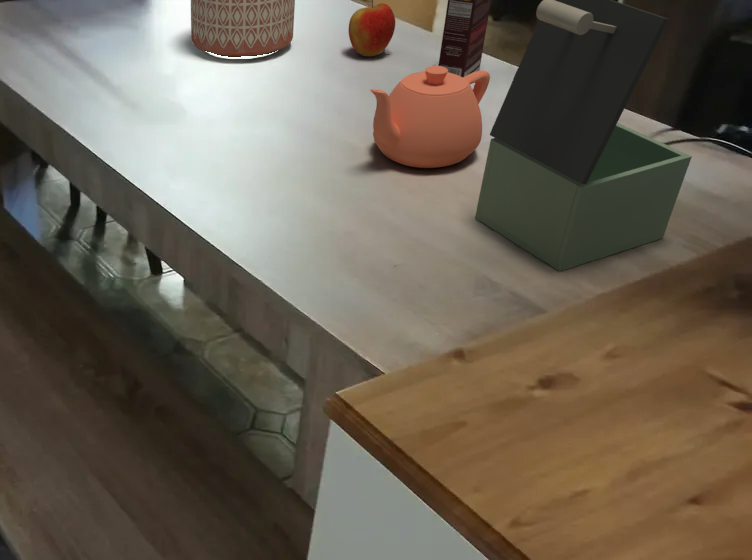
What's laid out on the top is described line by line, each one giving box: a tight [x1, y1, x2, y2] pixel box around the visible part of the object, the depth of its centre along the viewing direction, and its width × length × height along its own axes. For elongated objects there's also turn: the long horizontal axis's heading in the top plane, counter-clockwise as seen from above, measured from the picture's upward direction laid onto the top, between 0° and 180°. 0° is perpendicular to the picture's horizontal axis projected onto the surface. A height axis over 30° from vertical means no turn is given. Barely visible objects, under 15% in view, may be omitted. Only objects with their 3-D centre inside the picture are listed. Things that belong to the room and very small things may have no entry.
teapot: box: [369, 65, 491, 169], centre depth 133 cm, size 22×15×12 cm
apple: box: [348, 0, 396, 57], centre depth 166 cm, size 8×8×10 cm
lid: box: [489, 0, 670, 184], centre depth 103 cm, size 18×16×7 cm
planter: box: [190, 0, 296, 57], centre depth 171 cm, size 19×19×15 cm
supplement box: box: [437, 0, 492, 77], centre depth 154 cm, size 9×5×16 cm, turn 144°
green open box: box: [474, 122, 692, 272], centre depth 116 cm, size 17×16×11 cm
